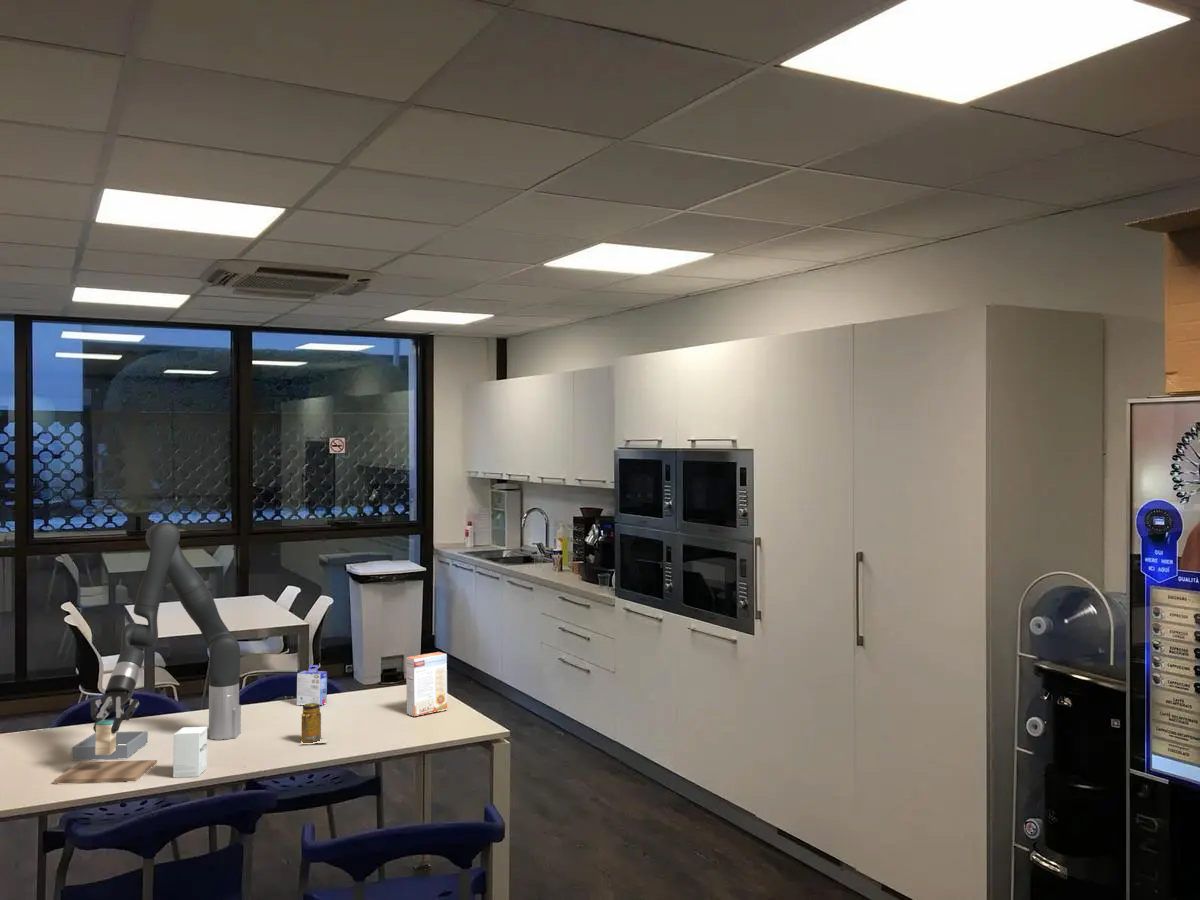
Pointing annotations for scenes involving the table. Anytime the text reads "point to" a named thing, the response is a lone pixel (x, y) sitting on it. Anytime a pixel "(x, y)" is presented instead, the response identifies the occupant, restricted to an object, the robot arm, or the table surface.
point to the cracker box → (426, 683)
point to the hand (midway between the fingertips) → (104, 731)
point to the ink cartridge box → (312, 686)
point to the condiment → (311, 723)
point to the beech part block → (105, 738)
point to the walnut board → (106, 771)
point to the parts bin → (131, 739)
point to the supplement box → (190, 752)
